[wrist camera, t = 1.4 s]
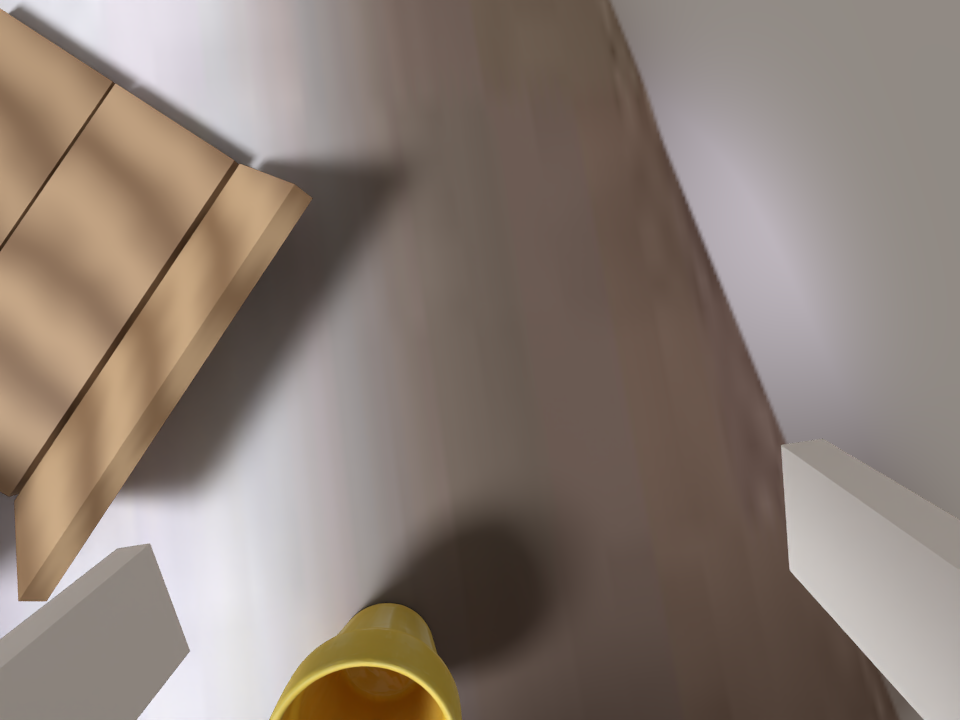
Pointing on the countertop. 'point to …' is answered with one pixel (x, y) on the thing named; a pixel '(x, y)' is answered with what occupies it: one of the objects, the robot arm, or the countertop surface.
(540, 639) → the countertop surface
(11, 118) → the laid floor
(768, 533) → the countertop surface
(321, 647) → the plant pot
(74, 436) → the board
